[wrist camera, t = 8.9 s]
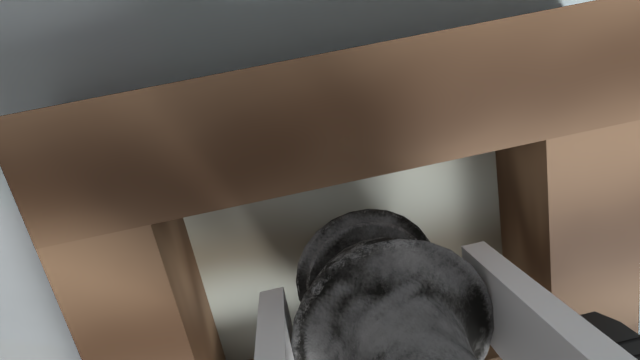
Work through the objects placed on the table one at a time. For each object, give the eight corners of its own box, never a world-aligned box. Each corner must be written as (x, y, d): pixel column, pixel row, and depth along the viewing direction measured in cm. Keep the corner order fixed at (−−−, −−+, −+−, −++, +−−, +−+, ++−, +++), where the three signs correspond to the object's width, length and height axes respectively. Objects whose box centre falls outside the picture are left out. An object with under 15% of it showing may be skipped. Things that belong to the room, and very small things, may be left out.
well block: (52, 110, 14) (-19, 119, 11) (566, 10, 15) (649, -11, 12) (176, 446, 18) (153, 529, 15) (573, 348, 19) (635, 405, 16)
